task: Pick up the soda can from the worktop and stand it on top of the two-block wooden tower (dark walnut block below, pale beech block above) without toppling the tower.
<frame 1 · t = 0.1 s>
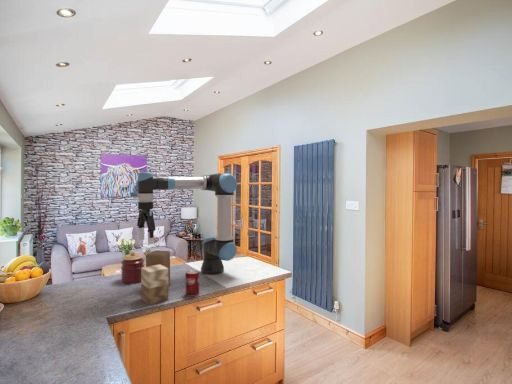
hand: (146, 242, 158), 28 cm above the countertop, fingers open, 13 cm apart
canister: (133, 281, 181), on the countertop
soda can: (192, 294, 160), on the countertop
tower top: (154, 283, 152), point 8 cm above the countertop, touching tower base
tower base: (154, 299, 153), on the countertop, touching tower top
block: (158, 287, 169), on the countertop
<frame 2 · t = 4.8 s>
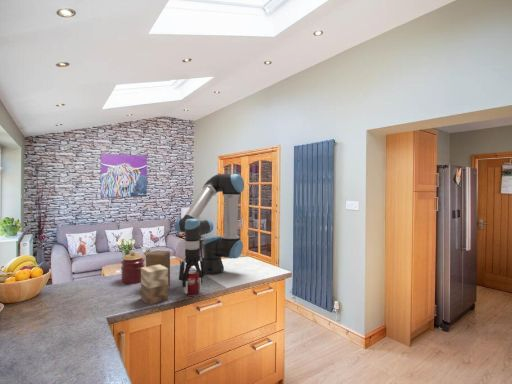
hand: (192, 291, 160), 2 cm above the countertop, fingers closed on soda can, 7 cm apart
soda can: (192, 294, 160), on the countertop, touching gripper
everything else where it was.
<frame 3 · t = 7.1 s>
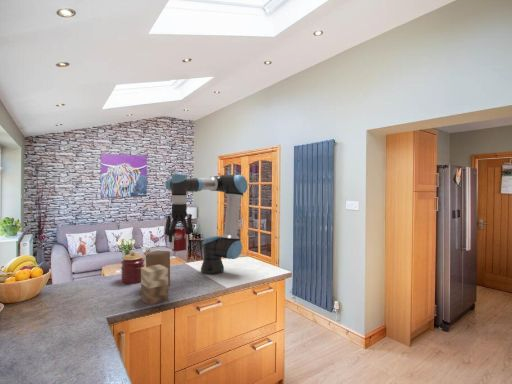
hand: (179, 247, 156), 26 cm above the countertop, fingers closed on soda can, 7 cm apart
soda can: (179, 251, 156), point 24 cm above the countertop, touching gripper
everything else where it was.
when the fingers open (19 cm above the countertop, at t = 9.7 s): soda can drops 1 cm, resting on tower top.
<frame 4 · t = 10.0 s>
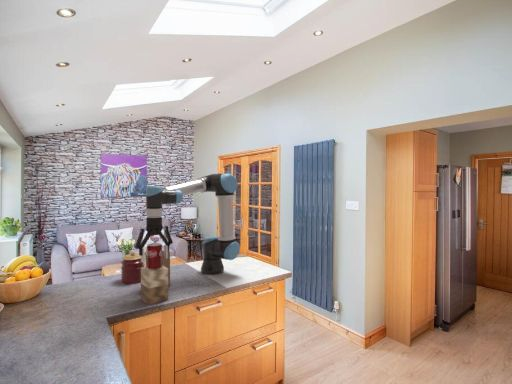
hand: (154, 259, 152), 20 cm above the countertop, fingers open, 11 cm apart
soda can: (154, 268, 152), point 16 cm above the countertop, touching tower top
tower top: (154, 283, 152), point 8 cm above the countertop, touching soda can, tower base
everything else where it was.
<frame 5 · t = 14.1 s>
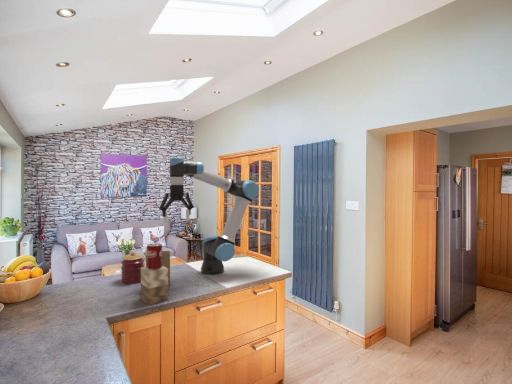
hand: (177, 221, 172), 37 cm above the countertop, fingers open, 13 cm apart
nothing on the countertop moved.
at the end: soda can inside the target area on the tower top (0.1 cm from its centre), point 7.8 cm above the tower top's base; soda can tilted 0°; tower top tilted 0° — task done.
